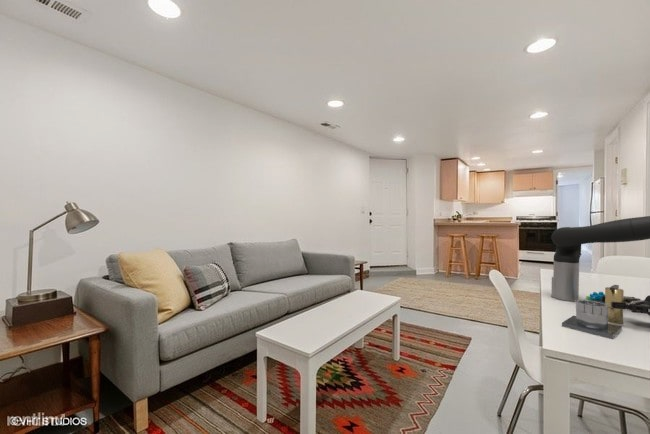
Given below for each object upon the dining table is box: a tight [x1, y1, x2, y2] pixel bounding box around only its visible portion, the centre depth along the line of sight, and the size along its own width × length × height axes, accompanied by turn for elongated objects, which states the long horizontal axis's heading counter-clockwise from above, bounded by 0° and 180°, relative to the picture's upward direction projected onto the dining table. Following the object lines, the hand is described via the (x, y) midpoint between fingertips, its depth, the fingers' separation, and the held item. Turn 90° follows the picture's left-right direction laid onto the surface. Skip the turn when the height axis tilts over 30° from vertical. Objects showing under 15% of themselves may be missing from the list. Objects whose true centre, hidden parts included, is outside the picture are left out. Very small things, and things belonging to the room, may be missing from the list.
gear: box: [585, 291, 605, 304], centre depth 123 cm, size 11×6×10 cm
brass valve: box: [604, 284, 625, 325], centre depth 108 cm, size 5×7×13 cm
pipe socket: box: [561, 299, 623, 340], centre depth 102 cm, size 13×13×8 cm
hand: (606, 301), depth 109 cm, fingers open, 7 cm apart
